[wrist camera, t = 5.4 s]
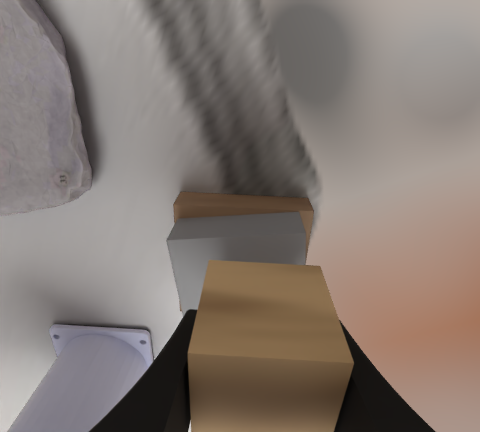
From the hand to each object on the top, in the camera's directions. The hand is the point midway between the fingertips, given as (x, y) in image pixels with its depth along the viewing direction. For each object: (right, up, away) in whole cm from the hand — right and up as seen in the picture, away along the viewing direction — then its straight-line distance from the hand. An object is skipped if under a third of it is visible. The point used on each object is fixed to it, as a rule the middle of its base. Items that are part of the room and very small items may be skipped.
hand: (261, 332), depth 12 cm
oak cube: (0, +1, +1) cm, 1 cm away
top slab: (-1, +2, +7) cm, 7 cm away
